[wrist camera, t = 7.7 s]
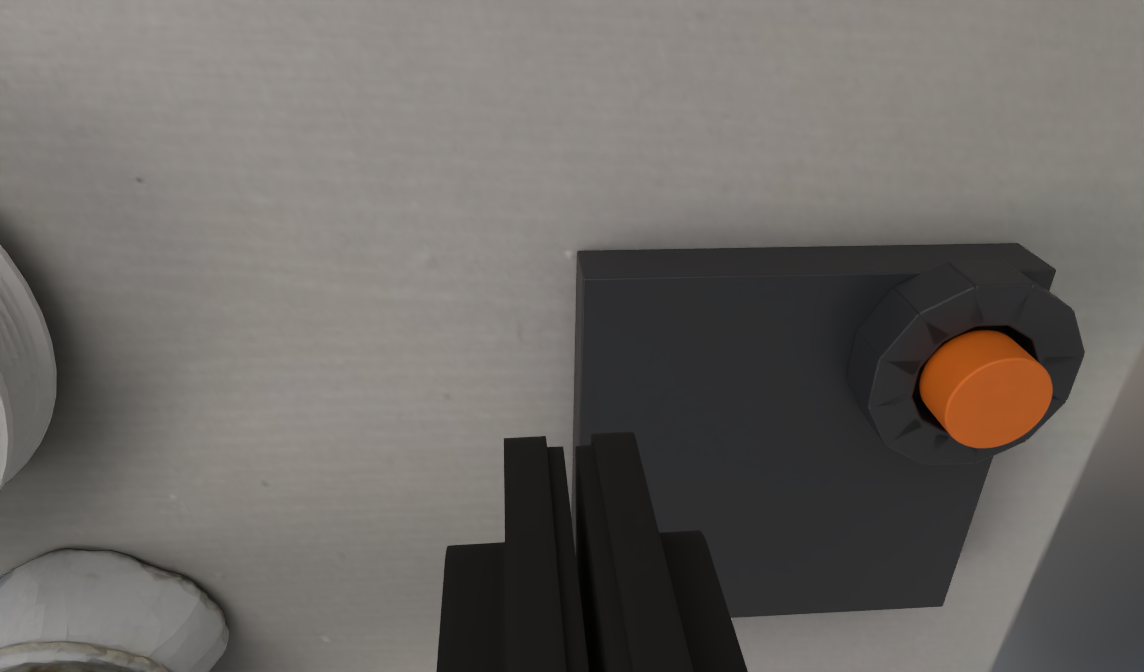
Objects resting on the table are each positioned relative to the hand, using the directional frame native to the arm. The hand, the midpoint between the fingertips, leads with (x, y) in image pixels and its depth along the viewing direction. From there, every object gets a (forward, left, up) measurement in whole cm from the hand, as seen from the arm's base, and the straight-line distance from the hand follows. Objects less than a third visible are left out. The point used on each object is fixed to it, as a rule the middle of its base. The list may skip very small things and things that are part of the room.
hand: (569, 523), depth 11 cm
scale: (+8, +8, -13) cm, 17 cm away
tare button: (+4, +12, -10) cm, 16 cm away
